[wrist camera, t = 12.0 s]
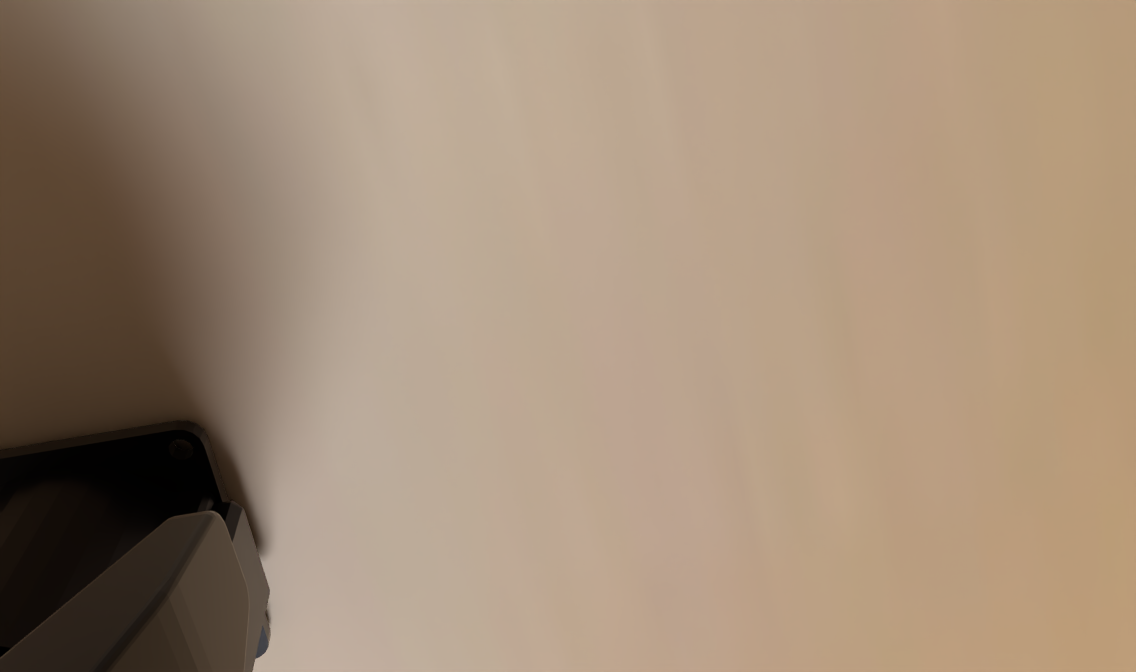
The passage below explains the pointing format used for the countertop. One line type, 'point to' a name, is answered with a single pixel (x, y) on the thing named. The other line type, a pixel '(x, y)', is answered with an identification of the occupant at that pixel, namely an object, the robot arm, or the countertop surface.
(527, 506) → the countertop surface
